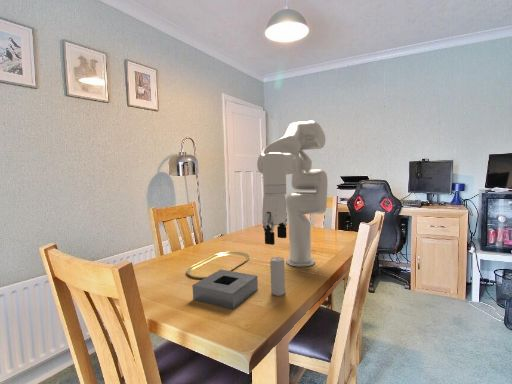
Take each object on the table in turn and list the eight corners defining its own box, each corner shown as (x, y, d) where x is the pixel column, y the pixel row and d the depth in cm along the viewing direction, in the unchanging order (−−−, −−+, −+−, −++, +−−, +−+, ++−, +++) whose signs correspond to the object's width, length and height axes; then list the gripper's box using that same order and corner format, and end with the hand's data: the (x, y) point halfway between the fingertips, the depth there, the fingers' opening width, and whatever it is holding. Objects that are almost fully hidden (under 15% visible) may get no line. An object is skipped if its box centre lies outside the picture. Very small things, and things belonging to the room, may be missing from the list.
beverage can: (284, 289, 101) (283, 256, 100) (286, 296, 97) (285, 261, 96) (270, 290, 101) (269, 257, 100) (271, 296, 96) (270, 261, 95)
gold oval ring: (177, 276, 119) (177, 273, 119) (224, 253, 150) (224, 250, 150) (214, 283, 110) (214, 279, 110) (256, 256, 141) (256, 253, 141)
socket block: (221, 282, 110) (220, 269, 110) (257, 289, 103) (257, 275, 102) (193, 299, 96) (192, 285, 96) (233, 309, 89) (232, 293, 88)
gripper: (275, 188, 105) (276, 234, 106) (252, 192, 90) (253, 245, 91) (294, 188, 101) (295, 236, 103) (273, 192, 86) (275, 248, 88)
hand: (276, 240), depth 97 cm, fingers open, 9 cm apart
